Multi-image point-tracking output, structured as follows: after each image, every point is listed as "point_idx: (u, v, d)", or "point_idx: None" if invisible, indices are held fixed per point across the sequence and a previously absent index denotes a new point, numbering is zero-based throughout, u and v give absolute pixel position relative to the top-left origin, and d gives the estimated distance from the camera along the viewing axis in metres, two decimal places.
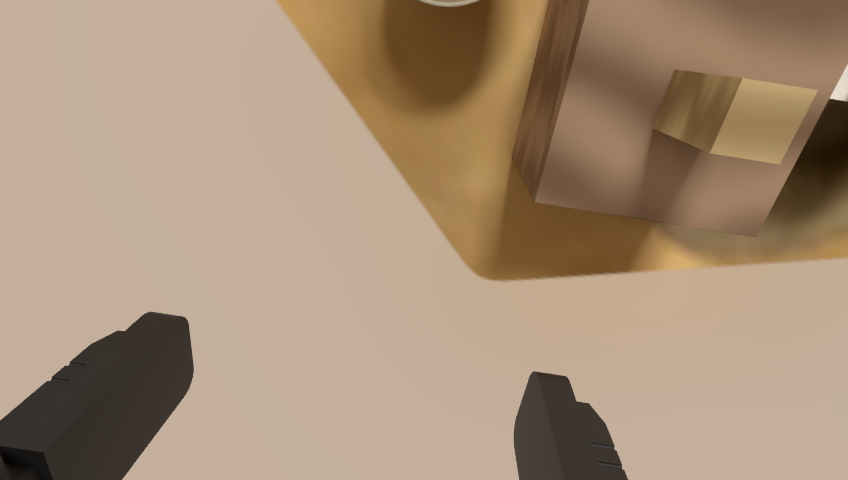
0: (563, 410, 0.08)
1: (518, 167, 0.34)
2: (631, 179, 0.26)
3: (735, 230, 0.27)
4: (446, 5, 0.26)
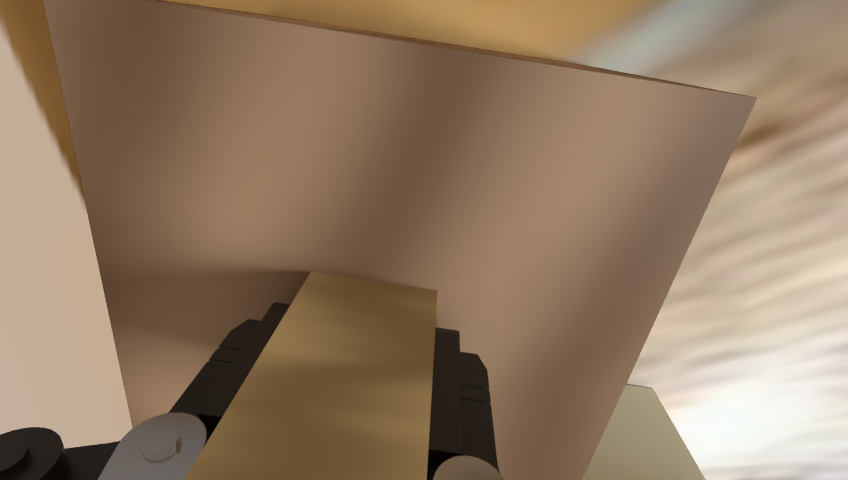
0: (444, 355, 0.09)
1: None
2: (187, 246, 0.11)
3: None
4: None
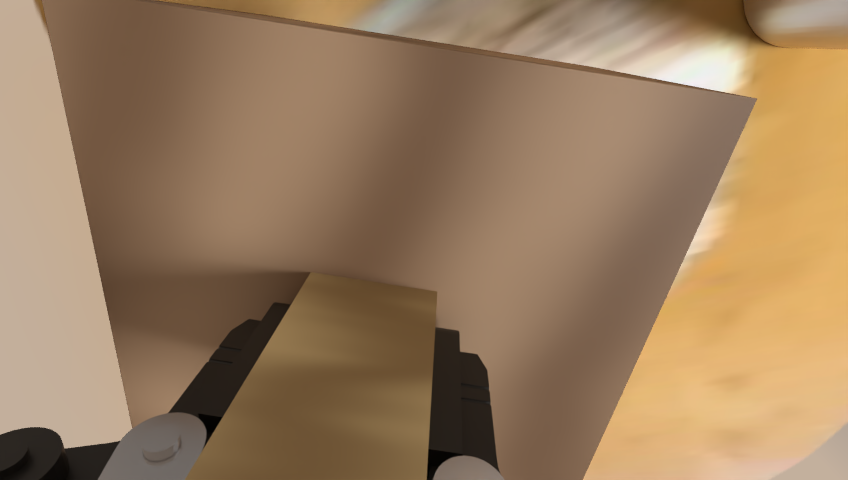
0: (444, 356, 0.09)
1: (229, 10, 0.15)
2: (186, 247, 0.11)
3: None
4: None
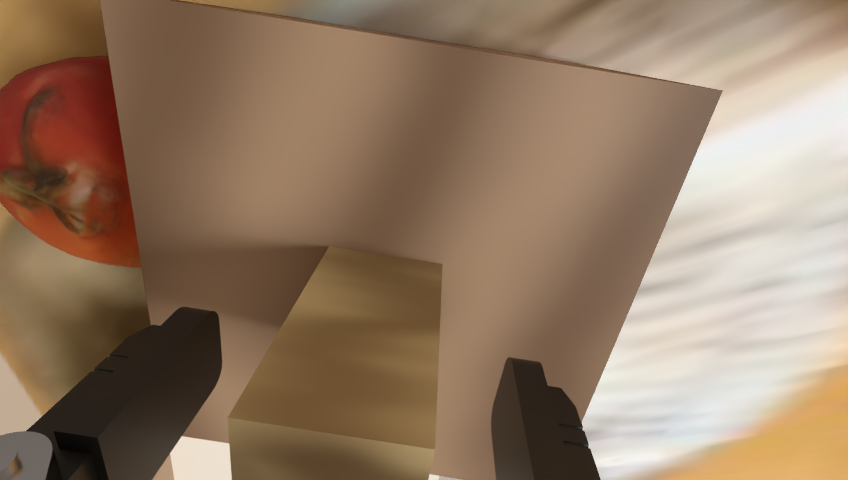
0: (534, 392, 0.09)
1: None
2: (218, 223, 0.12)
3: None
4: None
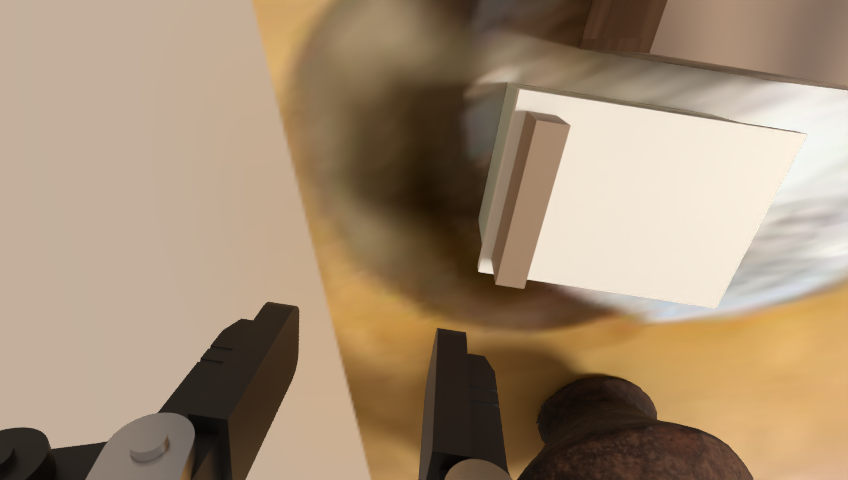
0: (452, 358, 0.09)
1: None
2: None
3: (668, 16, 0.18)
4: None
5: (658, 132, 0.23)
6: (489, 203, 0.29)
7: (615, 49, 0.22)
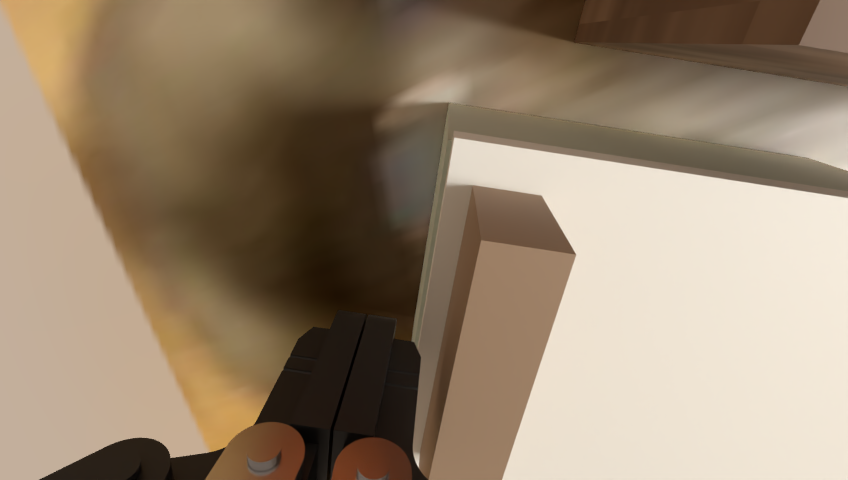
0: (376, 342, 0.09)
1: None
2: None
3: None
4: None
5: (776, 233, 0.10)
6: (416, 317, 0.17)
7: (657, 39, 0.09)
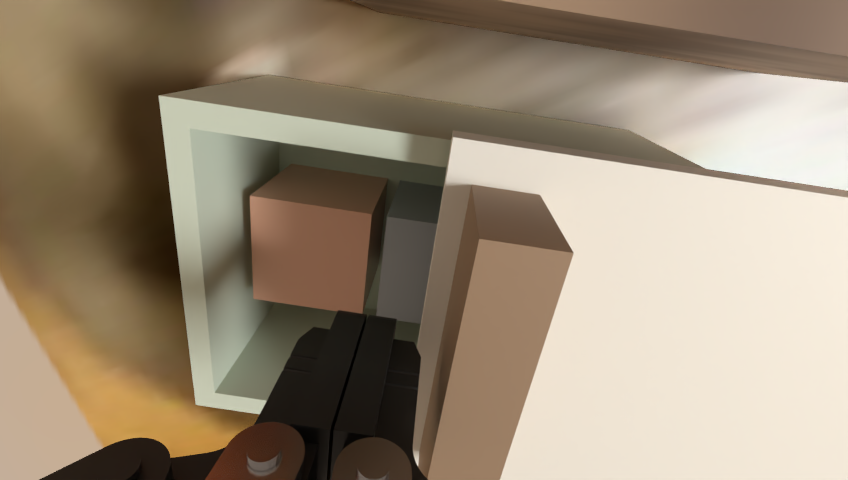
0: (376, 342, 0.09)
1: None
2: None
3: None
4: None
5: (773, 232, 0.10)
6: None
7: None
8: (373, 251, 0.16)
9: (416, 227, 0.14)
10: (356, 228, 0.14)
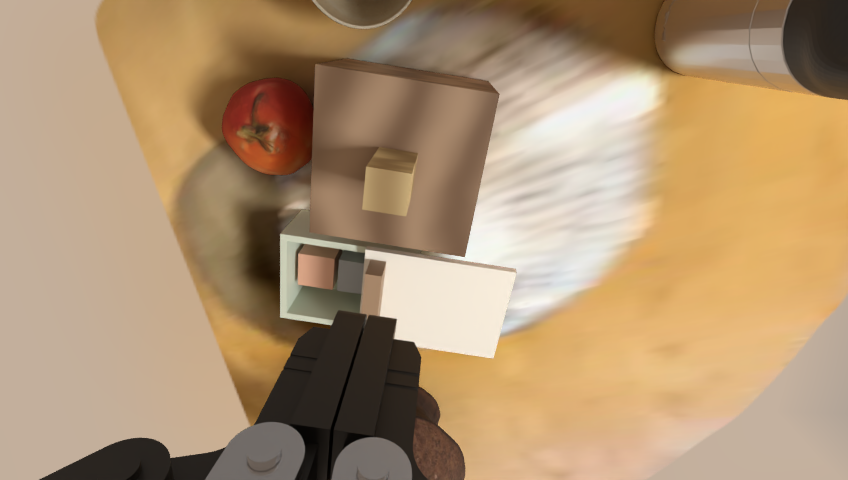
0: (376, 342, 0.09)
1: (340, 60, 0.39)
2: (341, 139, 0.35)
3: (312, 218, 0.38)
4: None
5: (440, 270, 0.43)
6: None
7: None
8: (336, 269, 0.49)
9: (347, 263, 0.47)
10: (330, 263, 0.47)
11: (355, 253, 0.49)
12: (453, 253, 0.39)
